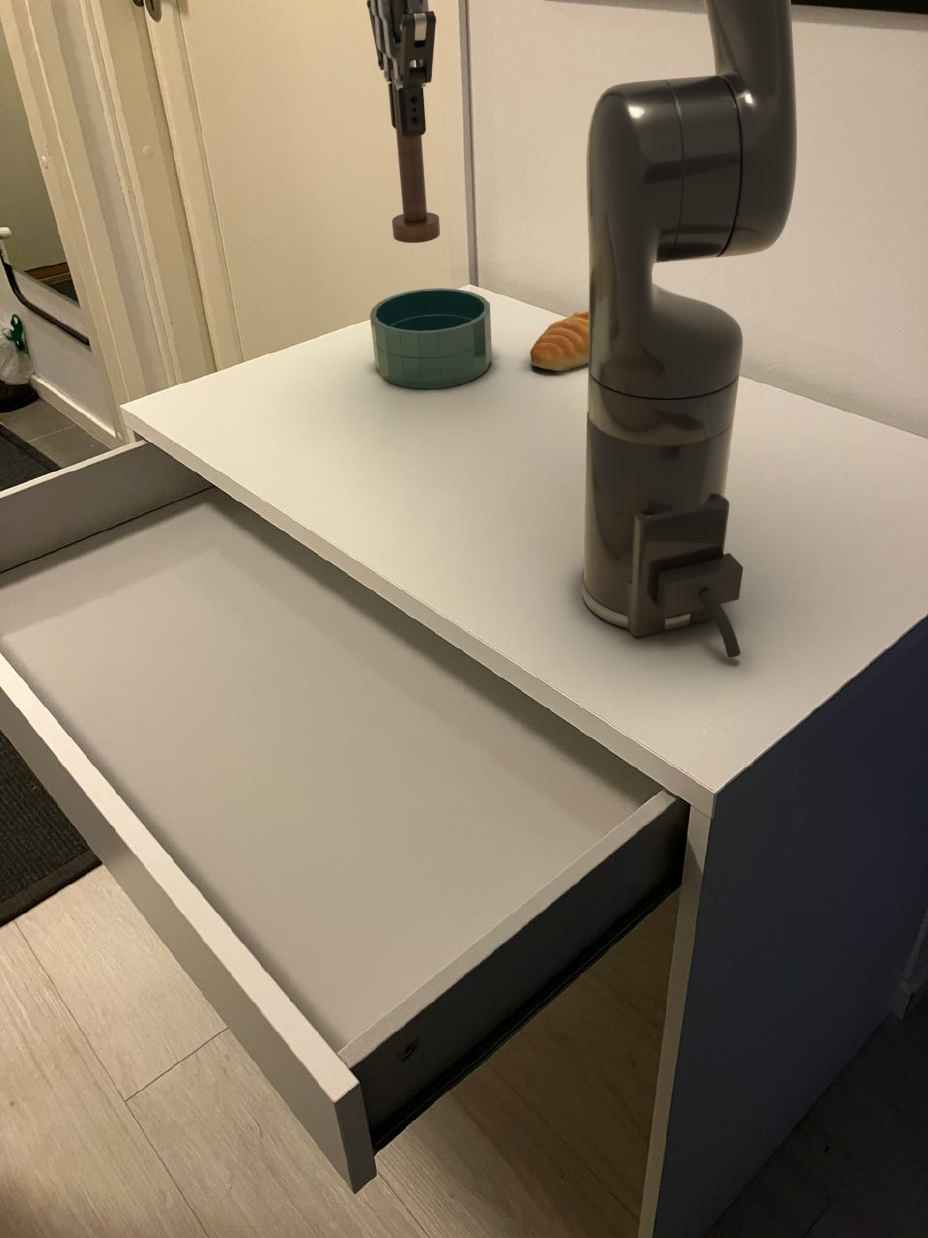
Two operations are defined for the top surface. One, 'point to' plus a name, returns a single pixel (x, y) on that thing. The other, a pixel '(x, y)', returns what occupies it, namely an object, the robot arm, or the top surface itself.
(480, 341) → the bowl
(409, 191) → the stick
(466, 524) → the top surface
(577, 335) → the pastry
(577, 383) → the top surface
